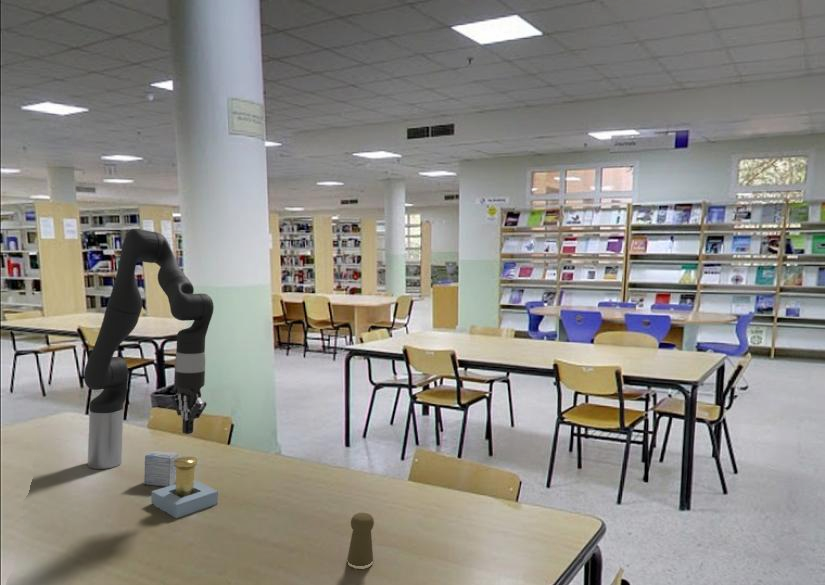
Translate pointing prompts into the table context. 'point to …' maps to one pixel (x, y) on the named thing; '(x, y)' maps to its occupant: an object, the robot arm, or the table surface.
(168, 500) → the jig
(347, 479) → the table surface
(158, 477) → the medicine box
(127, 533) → the table surface
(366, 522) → the cork
